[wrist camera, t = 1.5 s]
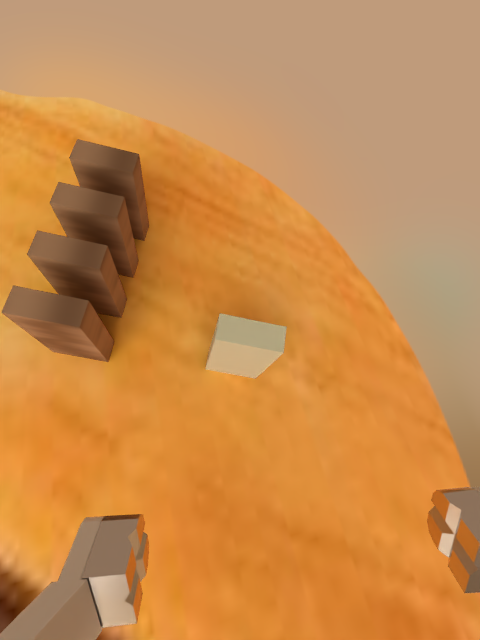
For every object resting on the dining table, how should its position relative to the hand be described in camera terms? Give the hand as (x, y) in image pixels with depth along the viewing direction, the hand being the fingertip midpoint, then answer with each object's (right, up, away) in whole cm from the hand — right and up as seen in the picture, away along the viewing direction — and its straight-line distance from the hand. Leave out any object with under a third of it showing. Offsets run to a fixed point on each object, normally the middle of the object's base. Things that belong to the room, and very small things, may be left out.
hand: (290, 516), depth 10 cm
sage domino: (-2, +1, +25) cm, 25 cm away
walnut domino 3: (-15, +7, +24) cm, 30 cm away
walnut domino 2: (-15, +11, +26) cm, 32 cm away
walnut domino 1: (-14, +15, +28) cm, 35 cm away
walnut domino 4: (-16, +3, +23) cm, 28 cm away
